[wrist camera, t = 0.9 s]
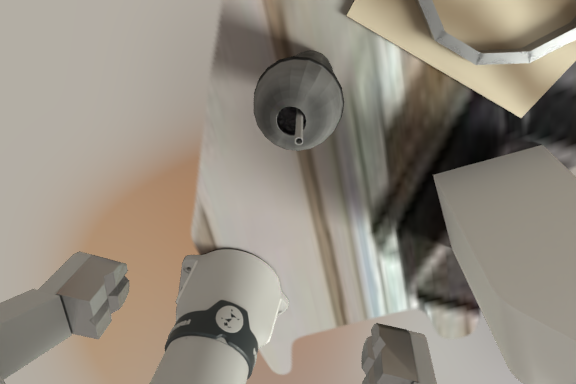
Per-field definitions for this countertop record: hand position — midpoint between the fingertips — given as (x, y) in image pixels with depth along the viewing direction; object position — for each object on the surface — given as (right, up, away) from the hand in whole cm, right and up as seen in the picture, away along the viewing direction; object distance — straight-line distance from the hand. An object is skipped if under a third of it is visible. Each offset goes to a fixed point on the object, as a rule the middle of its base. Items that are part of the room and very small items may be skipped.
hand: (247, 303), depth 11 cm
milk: (+26, +3, +31) cm, 41 cm away
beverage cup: (+4, +17, +26) cm, 31 cm away
